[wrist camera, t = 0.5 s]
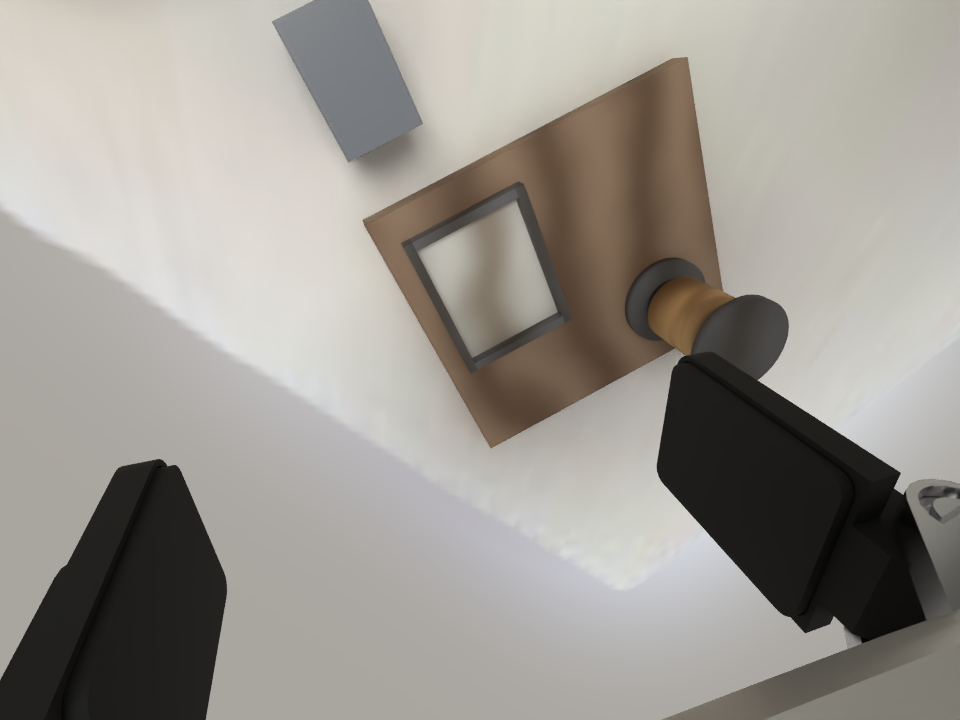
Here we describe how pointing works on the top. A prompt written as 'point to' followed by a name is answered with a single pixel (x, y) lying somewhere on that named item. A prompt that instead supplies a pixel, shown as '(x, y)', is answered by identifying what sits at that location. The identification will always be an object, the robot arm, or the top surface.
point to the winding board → (574, 258)
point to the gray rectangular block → (349, 73)
